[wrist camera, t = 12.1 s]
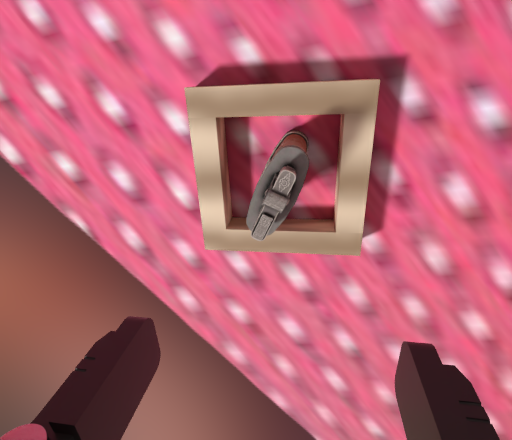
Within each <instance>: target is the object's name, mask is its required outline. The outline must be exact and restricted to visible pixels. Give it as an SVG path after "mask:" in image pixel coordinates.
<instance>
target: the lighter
mask: <svg viewBox="0 0 512 440" xmlns="http://www.w3.org/2000/svg"><path fill="white" fill-rule="evenodd" d="M308 146H309V142H308V139H307V137H306V136H305V135H304V134H303V133H302V132H299V131H289V132H287V133H286V134H285V135H284V136H283V137H282V139H281V140H280V142H279V143H278V144H277V146H276V147H275V149H274V151H273V152H272V154H271V156H270V158H269V160H268V162H267V164H266V166H265V169H264V171H263V173H262V175H261V177H260V180H259V182H258V183H257V186H256V188H255V191H254V194H253V196H252V199H251V202H250V206H249V210H248V214H247V219H246V224H247V226H248V228H249V229H250V230H251V231H252V232H251V237H252V238H253V239H255V240H258V241H263V240H264V239H265V238H266V236H268V235H271V234H272V233H273V232H275V230H276V229H277V228H278V227H279V226H280V224H281V223H282V222H283V221H284V220H285V218H286V217H287V215H288V214H289V212H290V210H291V209H292V207H293V206H294V204H295V202H296V200H297V198H298V196H299V193H300V191H301V189H302V187H303V184H304V180H305V177H306V174H307V171H308V167H309V158H308V155H307V151H308Z"/></svg>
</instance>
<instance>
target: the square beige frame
mask: <svg viewBox="0 0 512 440" xmlns="http://www.w3.org/2000/svg"><path fill="white" fill-rule="evenodd" d="M379 86H380V79H356V80H333V81H311V82H288V83H265V84H242V85H219V86H196V87H187V88H185V96H186V104H187V111H188V119H189V127H190V135H191V142H192V150H193V158H194V166H195V174H196V181H197V189H198V197H199V205H200V212H201V220H202V228H203V236H204V243H205V250H230V251H255V252H280V253H306V254H331V255H356V256H360V252H361V244H362V235H363V226H364V217H365V209H366V200H367V191H368V182H369V173H370V165H371V156H372V147H373V138H374V130H375V121H376V112H377V103H378V94H379ZM324 114H341V119H340V134H339V148H338V163H337V177H336V192H335V207H334V220H329V219H285V220H284V221H283V222H282V223H281V224H280V226H279V227H278V228H277V229H276V230H275V232H273V233H272V234H271V235H268V236H266V238H265V239H264V240H263V241H258V240H255V239H253V238H252V237H251V232H252V231H251V230H250V229H249V228H248V226H247V224H246V219H247V218H241V217H232V207H231V195H230V183H229V171H228V159H227V147H226V135H225V123H224V117H252V116H288V115H324Z"/></svg>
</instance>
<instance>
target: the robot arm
mask: <svg viewBox="0 0 512 440" xmlns="http://www.w3.org/2000/svg"><path fill="white" fill-rule="evenodd" d="M159 361H160V348H159V343H158V339H157V335H156V331H155V326H154V322H153V320H152V319H151V318H142V317H131V316H130V317H127V318H126V319H125V320H124V321H123V323H122V324H121V325H120V327H119V328H118V329H117V330H116V331H110V332H109V333H108V334H106V335H105V336H104V337H103V338H101V339H100V340H98V341H97V342H96V343H95V344H94V345H93V347H92V348H91V349H90V350H89V352H88V353H87V354H86V355H85V358H84V359H82V361H81V362H80V363H79V364H78V365H77V367H76V368H75V371H73V372H72V373H71V374H70V375H69V377H68V378H67V379H66V380H65V382H64V383H63V384H62V385H61V387H60V388H59V389H58V391H57V392H56V393H55V394H54V396H53V397H52V398H51V399H50V401H49V402H48V403H47V404H46V406H45V407H44V408H43V410H42V411H41V412H40V413H39V414H38V416H37V417H36V418H35V419H34V420H33V421H32V422H31V423H30V424H26V425H22V426H20V427H17V428H15V429H13V430H11V431H9V432H8V433H6V434H5V435H3V436H2V437H1V438H0V440H121V438H122V436H123V434H124V432H125V430H126V428H127V426H128V424H129V422H130V420H131V419H132V417H133V415H134V413H135V411H136V409H137V407H138V405H139V403H140V401H141V399H142V397H143V395H144V393H145V392H146V390H147V388H148V386H149V384H150V382H151V380H152V378H153V376H154V374H155V372H156V370H157V368H158V365H159ZM395 392H396V398H397V402H398V406H399V410H400V414H401V418H402V422H403V425H404V429H405V433H406V437H407V440H500V439H499V437H498V435H497V433H496V431H495V429H494V427H493V425H492V424H490V419H489V417H488V415H487V413H486V412H485V410H484V408H483V407H482V406H481V402H480V400H479V398H478V396H477V394H476V392H475V390H474V388H473V386H472V384H471V383H470V381H469V380H468V379H467V378H466V377H465V376H464V375H463V374H462V373H461V372H460V371H459V370H458V369H457V368H456V367H455V366H454V365H443V364H442V362H441V360H440V358H439V356H438V353H437V351H436V349H435V347H434V346H433V345H432V344H427V343H415V342H403V344H402V347H401V352H400V356H399V361H398V365H397V370H396V375H395Z"/></svg>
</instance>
